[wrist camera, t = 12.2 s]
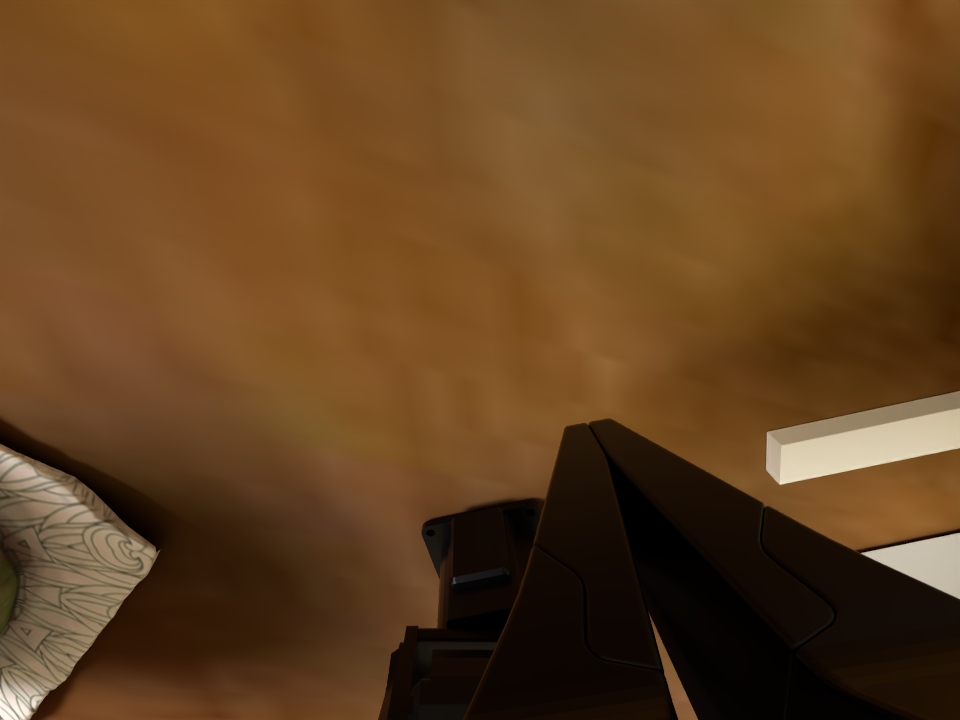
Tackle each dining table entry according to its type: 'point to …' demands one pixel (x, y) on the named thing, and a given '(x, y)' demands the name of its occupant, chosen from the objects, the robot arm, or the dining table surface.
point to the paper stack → (926, 561)
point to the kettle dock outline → (864, 439)
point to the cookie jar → (56, 577)
